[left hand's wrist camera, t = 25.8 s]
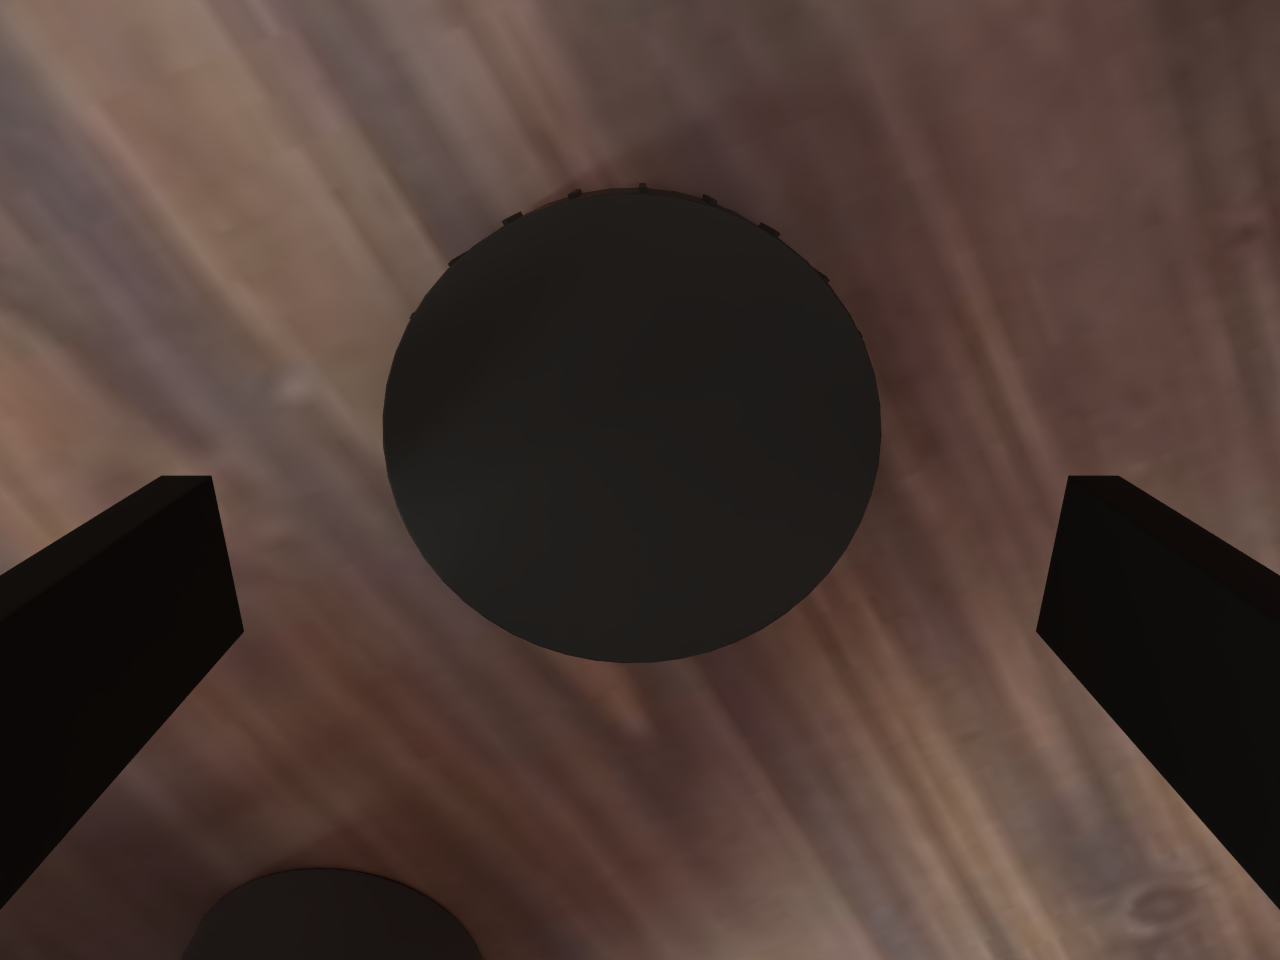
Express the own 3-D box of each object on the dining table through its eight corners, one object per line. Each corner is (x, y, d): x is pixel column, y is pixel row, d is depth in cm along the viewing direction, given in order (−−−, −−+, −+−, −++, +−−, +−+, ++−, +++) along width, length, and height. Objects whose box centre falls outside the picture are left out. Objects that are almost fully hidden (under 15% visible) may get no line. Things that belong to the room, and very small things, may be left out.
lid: (328, 444, 16) (283, 486, 14) (599, 71, 13) (592, 57, 11) (657, 672, 18) (660, 738, 16) (945, 391, 16) (991, 427, 14)
